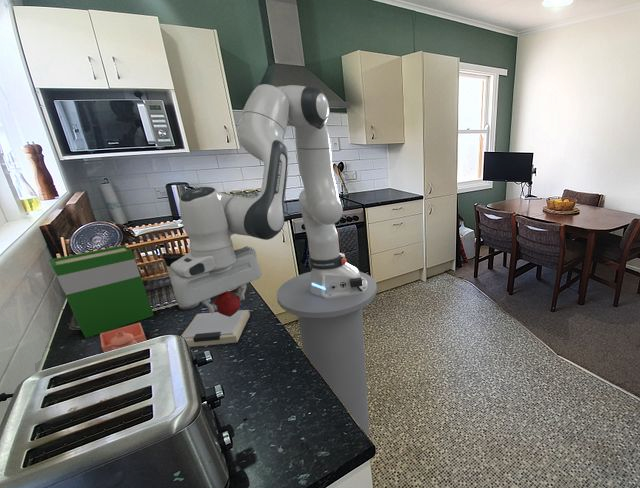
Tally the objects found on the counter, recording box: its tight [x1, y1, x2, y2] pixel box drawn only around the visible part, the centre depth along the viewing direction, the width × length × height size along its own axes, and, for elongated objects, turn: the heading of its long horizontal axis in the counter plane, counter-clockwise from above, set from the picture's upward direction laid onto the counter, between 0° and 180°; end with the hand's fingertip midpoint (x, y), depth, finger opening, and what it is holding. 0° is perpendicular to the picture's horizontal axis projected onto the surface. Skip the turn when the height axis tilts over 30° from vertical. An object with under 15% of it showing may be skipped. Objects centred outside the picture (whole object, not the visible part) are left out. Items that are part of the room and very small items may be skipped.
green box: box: [48, 244, 155, 339], centre depth 110 cm, size 18×7×24 cm, turn 141°
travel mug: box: [162, 253, 200, 311], centre depth 121 cm, size 6×7×20 cm
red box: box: [99, 321, 147, 353], centre depth 98 cm, size 18×10×10 cm, turn 43°
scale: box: [180, 309, 251, 348], centre depth 111 cm, size 16×16×3 cm
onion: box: [213, 291, 241, 317], centre depth 89 cm, size 6×6×8 cm
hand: (227, 305), depth 90 cm, fingers closed on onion, 6 cm apart
